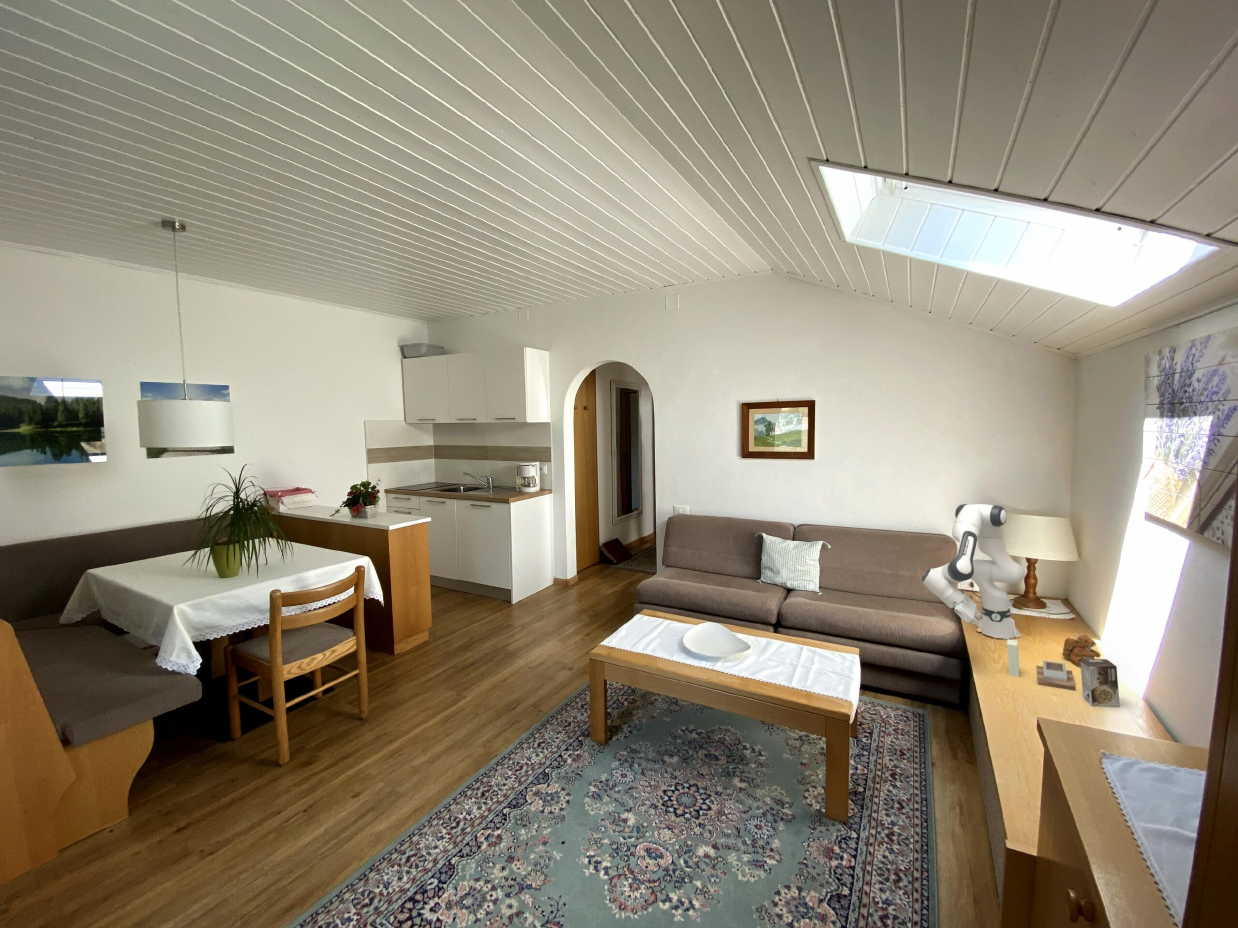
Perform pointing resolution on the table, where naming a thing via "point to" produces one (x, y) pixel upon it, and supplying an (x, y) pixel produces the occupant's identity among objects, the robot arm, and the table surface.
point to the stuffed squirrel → (1079, 649)
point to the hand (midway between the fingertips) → (981, 622)
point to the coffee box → (1099, 682)
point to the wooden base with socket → (1055, 675)
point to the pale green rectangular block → (1013, 657)
